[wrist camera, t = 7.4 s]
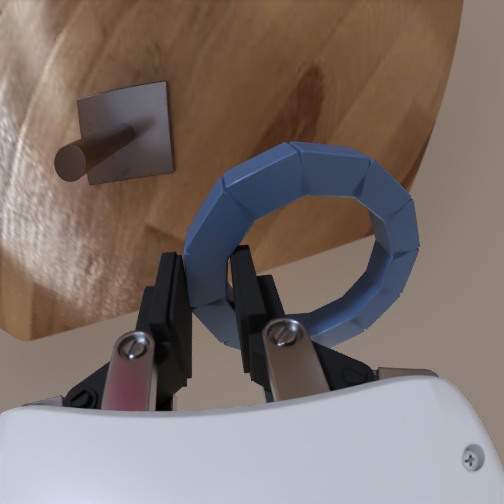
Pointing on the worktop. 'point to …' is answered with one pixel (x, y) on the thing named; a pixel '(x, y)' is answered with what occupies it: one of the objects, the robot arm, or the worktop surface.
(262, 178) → the ring
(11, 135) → the worktop surface
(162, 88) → the stand
